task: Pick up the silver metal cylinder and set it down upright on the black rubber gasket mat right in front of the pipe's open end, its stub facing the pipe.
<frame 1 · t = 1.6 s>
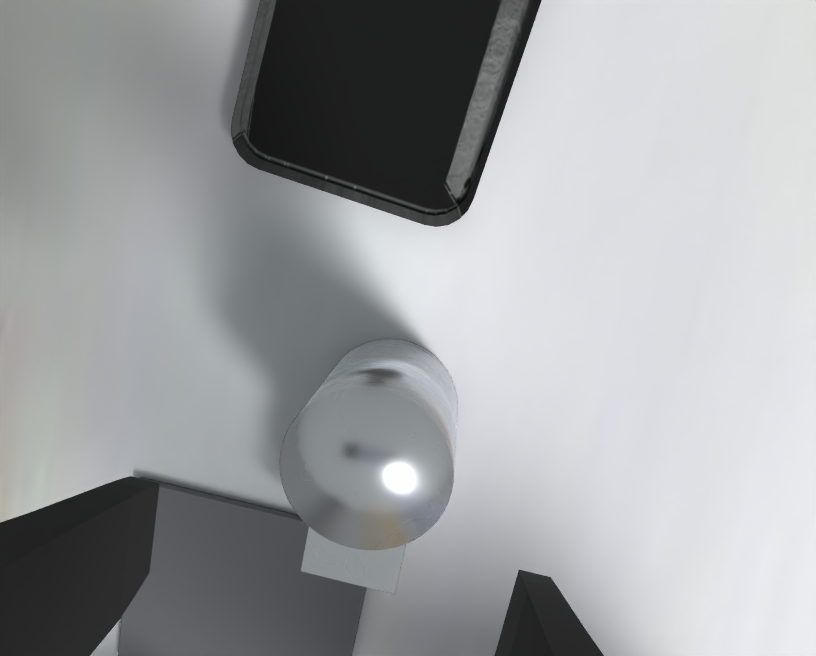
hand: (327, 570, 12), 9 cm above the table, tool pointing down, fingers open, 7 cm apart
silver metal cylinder: (390, 403, 21), on the table
gasket mat: (243, 598, 23), on the table
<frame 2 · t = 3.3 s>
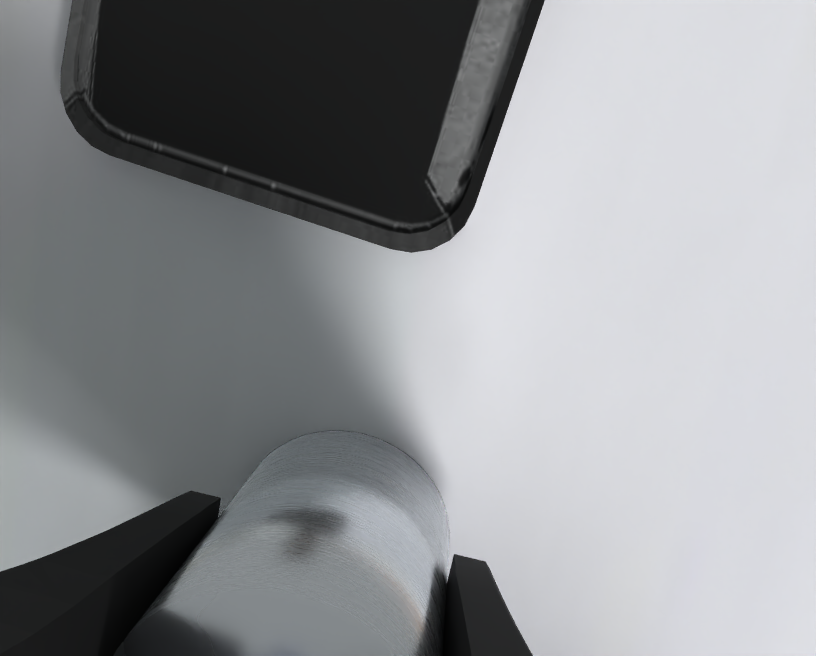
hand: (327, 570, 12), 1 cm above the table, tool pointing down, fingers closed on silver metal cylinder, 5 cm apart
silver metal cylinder: (342, 530, 13), on the table, touching gripper
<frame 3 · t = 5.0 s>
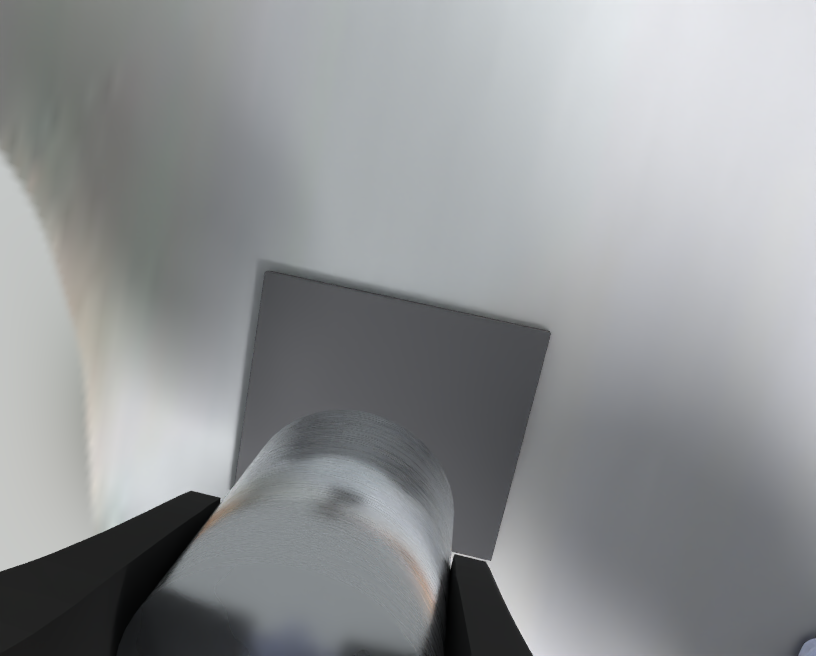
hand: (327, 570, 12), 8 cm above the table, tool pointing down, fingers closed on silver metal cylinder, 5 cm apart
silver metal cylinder: (349, 507, 13), point 7 cm above the table, touching gripper
gasket mat: (383, 418, 20), on the table
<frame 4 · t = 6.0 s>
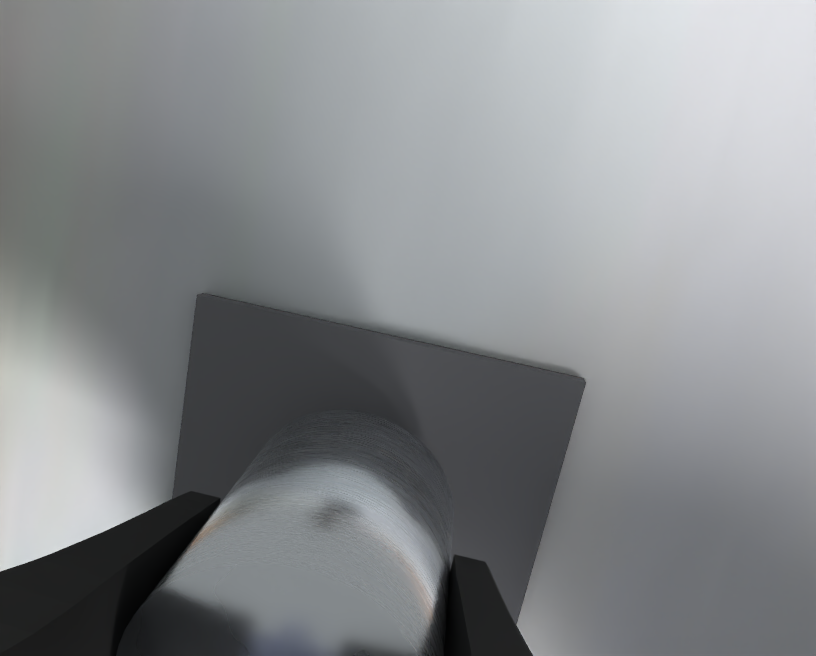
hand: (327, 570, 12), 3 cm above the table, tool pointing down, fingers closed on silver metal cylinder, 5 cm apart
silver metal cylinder: (349, 507, 13), point 2 cm above the table, touching gripper
gasket mat: (358, 489, 15), on the table
when the fingers open (3 cm above the table, at t = 6.9 s): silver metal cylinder drops 1 cm, resting on gasket mat.
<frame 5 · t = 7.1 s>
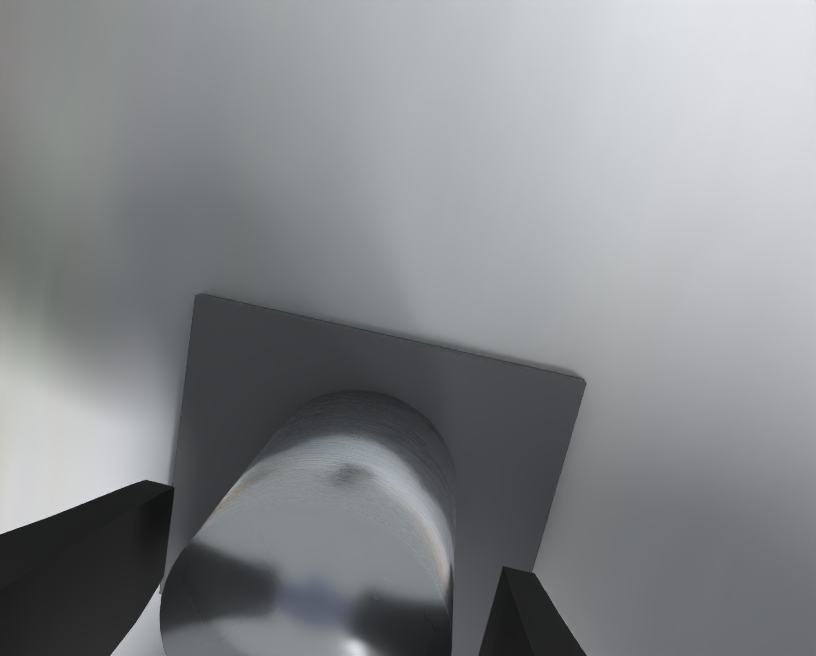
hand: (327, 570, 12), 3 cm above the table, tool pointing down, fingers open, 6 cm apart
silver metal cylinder: (359, 481, 14), resting on gasket mat
gasket mat: (357, 490, 15), on the table
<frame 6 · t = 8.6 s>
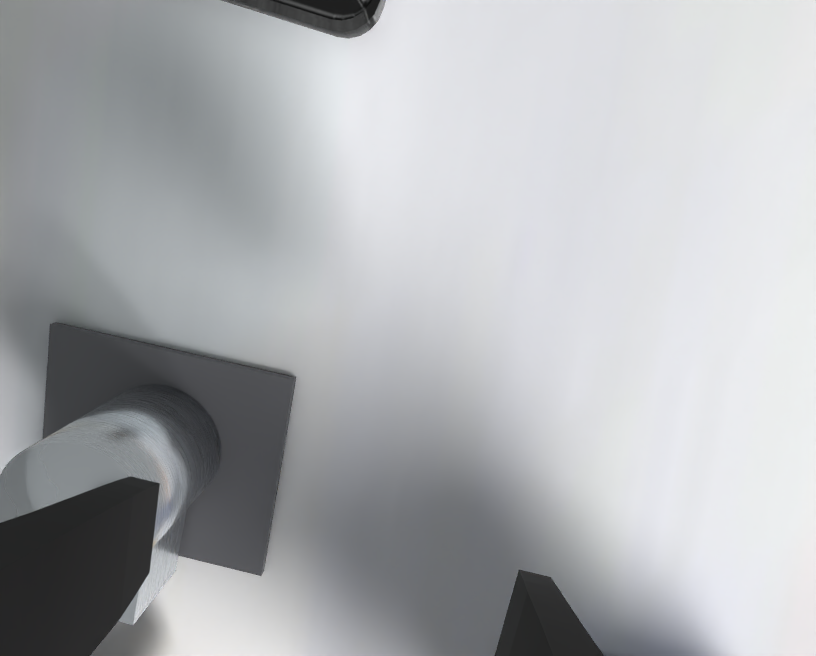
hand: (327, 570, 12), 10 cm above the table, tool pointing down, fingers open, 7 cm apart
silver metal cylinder: (160, 443, 22), resting on gasket mat
gasket mat: (162, 450, 23), on the table
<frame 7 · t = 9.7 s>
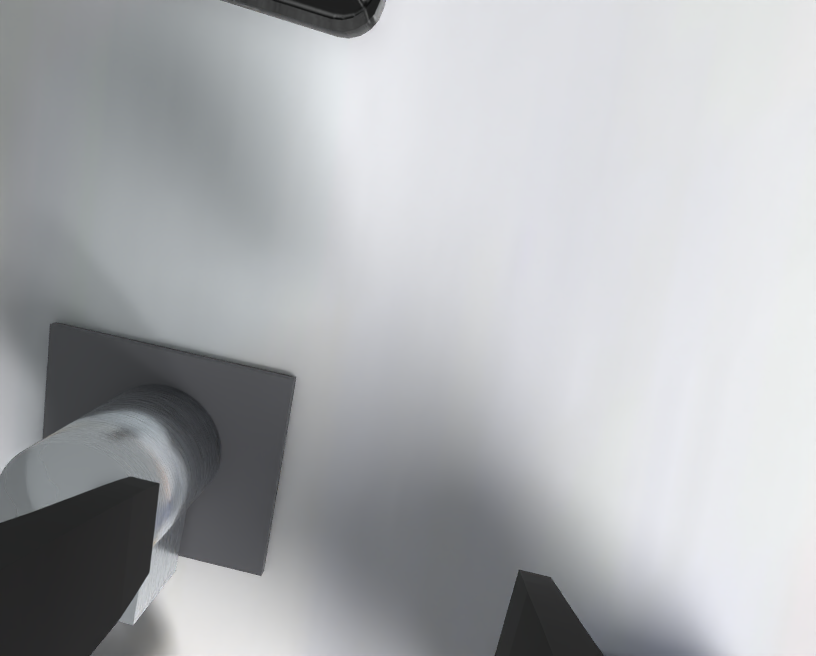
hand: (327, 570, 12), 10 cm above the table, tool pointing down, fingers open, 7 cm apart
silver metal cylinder: (160, 443, 22), resting on gasket mat
gasket mat: (162, 450, 23), on the table
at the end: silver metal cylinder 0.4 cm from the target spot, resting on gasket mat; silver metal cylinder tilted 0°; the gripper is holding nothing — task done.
